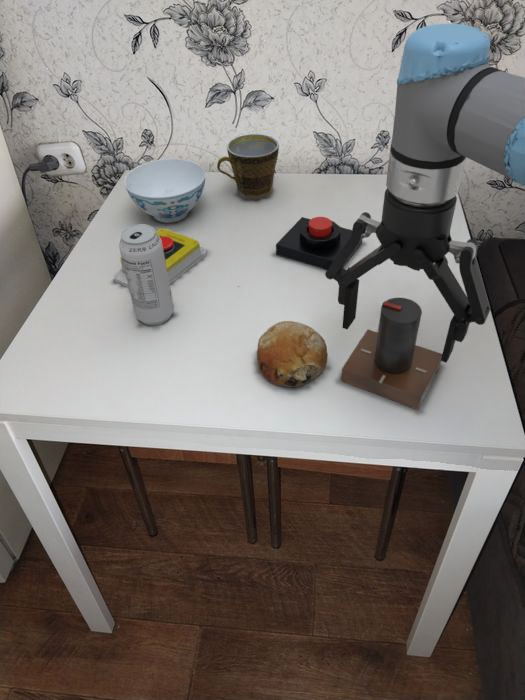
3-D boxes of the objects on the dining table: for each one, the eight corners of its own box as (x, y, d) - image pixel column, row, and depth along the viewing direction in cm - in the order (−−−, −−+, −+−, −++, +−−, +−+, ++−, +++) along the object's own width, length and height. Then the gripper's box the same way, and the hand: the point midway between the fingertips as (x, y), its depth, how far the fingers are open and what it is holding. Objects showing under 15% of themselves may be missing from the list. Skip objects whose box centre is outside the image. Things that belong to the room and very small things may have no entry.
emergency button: (206, 231, 101) (148, 276, 93) (209, 253, 104) (153, 298, 96) (165, 217, 105) (106, 258, 97) (169, 238, 108) (111, 280, 100)
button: (335, 228, 102) (336, 219, 101) (325, 240, 100) (326, 231, 98) (314, 223, 104) (315, 214, 102) (304, 234, 101) (304, 225, 100)
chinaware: (215, 195, 119) (211, 158, 114) (201, 235, 109) (197, 198, 103) (142, 193, 121) (136, 157, 115) (122, 233, 110) (114, 196, 105)
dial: (416, 355, 80) (427, 302, 74) (404, 378, 77) (414, 325, 71) (382, 343, 82) (389, 291, 76) (368, 366, 79) (375, 313, 73)
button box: (362, 243, 105) (363, 223, 102) (338, 273, 99) (340, 253, 96) (301, 227, 109) (302, 208, 107) (276, 254, 103) (275, 235, 101)
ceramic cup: (262, 175, 124) (260, 129, 117) (289, 195, 118) (289, 147, 111) (208, 194, 120) (203, 147, 113) (234, 215, 113) (230, 166, 106)
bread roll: (329, 371, 87) (335, 320, 85) (317, 397, 78) (324, 340, 75) (264, 360, 89) (269, 309, 87) (245, 384, 80) (250, 328, 77)
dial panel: (439, 366, 82) (443, 352, 81) (418, 410, 77) (421, 397, 75) (366, 341, 87) (368, 327, 85) (340, 381, 81) (341, 368, 79)
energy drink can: (182, 310, 93) (168, 228, 83) (157, 332, 90) (139, 250, 79) (153, 298, 96) (136, 217, 85) (128, 319, 92) (107, 237, 82)
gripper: (300, 181, 65) (298, 326, 79) (536, 237, 55) (484, 390, 70) (329, 153, 69) (322, 295, 84) (551, 201, 60) (500, 351, 75)
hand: (396, 338), depth 77 cm, fingers open, 13 cm apart
